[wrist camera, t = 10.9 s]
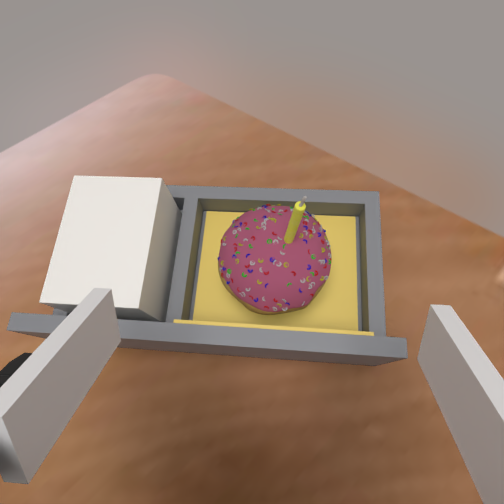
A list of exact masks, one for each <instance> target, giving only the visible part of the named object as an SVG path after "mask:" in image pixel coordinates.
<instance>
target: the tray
mask: <svg viewBox="0 0 504 504" xmlns="http://www.w3.org/2000/svg"><path fill="white" fill-rule="evenodd" d="M166 186H167V188H168V190H169V192H170V194H171V195H172V197H173V199H174V201H175V202H176V204H177V206H178V208H179V210H180V211H181V213H182V218H181V225H180V231H179V238H178V244H177V251H176V257H175V264H174V270H173V277H172V283H171V290H170V296H169V303H168V309H167V316H166V322H152V321H137V320H121V319H117V322H118V327H119V333H120V338H121V342H120V343H119V345H118V346H117V347H120V348H133V349H147V350H161V351H175V352H189V353H203V354H216V355H230V356H244V357H258V358H272V359H286V360H299V361H313V362H327V363H341V364H355V365H368V366H377V365H381V364H385V363H390V362H394V361H398V360H402V359H406V358H408V356H407V341H406V338H398V337H386V325H385V305H384V284H383V264H382V243H381V222H380V202H379V192H376V191H343V190H310V189H277V188H244V187H211V186H178V185H166ZM304 196H307V198H306V200H305V202H304V203H305V205H306V208H305V211H307V212H309V214H310V215H311V214H314V215H315V218H316V219H317V221H319V224H320V225H322V228H323V229H324V230H326V232H325V234H326V236H327V239H328V241H329V245H331V246H330V249H331V257H332V261H331V262H332V263H331V269H330V274H329V276H328V279H327V280H326V282H325V284H324V286H323V287H322V289H321V290H320V292H319V293H318V295H317V296H316V297H315V298H314V299H313V301H312V302H311V303H310V304H309V305H308V306H307V307H306V308H304V309H302V310H298V311H293V312H288V313H283V314H275V315H262V314H258V313H255V312H252V311H250V310H248V309H247V308H246V307H245V306H244V305H243V304H242V303H240V302H239V301H238V300H237V299H236V298H234V297H233V296H232V295H231V294H230V293H229V292H228V291H227V289H226V288H225V287H224V285H223V283H222V281H221V278H220V276H219V272H218V259H217V258H218V257H219V251H220V246H221V239H222V237H223V235H224V233H225V232H226V231H227V229H228V228H229V227H230V226H231V224H232V221H233V220H236V218H237V217H240V216H241V215H242V214H244V213H245V212H248V211H250V210H249V209H251V210H252V209H256V208H258V207H262V206H263V205H266V204H270V205H271V206H272V205H275V206H277V205H278V204H281V206H289V207H294V206H295V204H296V202H298V201H301V200H302V198H303V197H304ZM307 212H306V213H307ZM69 314H70V313H68V312H65V311H62V310H59V309H56V308H54V311H53V315H45V314H29V313H14V312H12V314H11V317H10V320H9V324H8V327H7V330H8V331H13V332H17V333H22V334H27V335H31V336H36V337H41V338H46V339H47V337H48V336H49V335H50V334H51V333H52V332H53V331H54V330H55V329H56V328H57V327H58V326H59V325H60V324H61V323H62V322H63V320H64V319H65V318H66V317H67V316H68V315H69Z"/></svg>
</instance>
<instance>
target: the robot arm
mask: <svg viewBox="0 0 504 504" xmlns="http://www.w3.org/2000/svg"><path fill="white" fill-rule="evenodd" d="M120 342H121V338H120V333H119V327H118V322H117V316H116V311H115V306H114V300H113V295H112V289H107V288H94V289H93V290H92V291H91V292H90V293H89V294H88V295H87V296H86V297H85V298H84V299H83V300H82V301H81V302H80V303H79V304H78V306H77V307H76V308H75V309H74V310H73V311H72V312H71V313H70V314H69V315H68V316H67V317H66V318H65V319H64V320H63V322H62V323H61V324H60V325H59V326H58V327H57V328H56V329H55V330H54V331H53V332H52V333H51V334H50V335H49V336H48V337H47V339H46V340H45V341H44V342H43V343H42V344H41V345H40V346H39V347H38V348H37V349H36V350H35V351H34V352H33V353H23V354H22V355H20V356H19V357H17V358H15V359H14V360H12V361H11V362H9V363H8V364H7V365H6V366H5V367H4V368H3V369H2V370H1V371H0V474H1V476H2V478H3V481H4V482H11V483H22V484H29V483H30V481H31V479H32V478H33V476H34V475H35V473H36V472H37V470H38V469H39V467H40V466H41V464H42V462H43V461H44V459H45V458H46V456H47V455H48V453H49V452H50V450H51V448H52V447H53V445H54V444H55V442H56V441H57V439H58V438H59V436H60V435H61V433H62V431H63V430H64V428H65V427H66V425H67V424H68V422H69V421H70V419H71V417H72V416H73V414H74V413H75V411H76V410H77V408H78V407H79V405H80V404H81V402H82V400H83V399H84V397H85V396H86V394H87V393H88V391H89V390H90V388H91V387H92V385H93V383H94V382H95V380H96V379H97V377H98V376H99V374H100V373H101V371H102V369H103V368H104V366H105V365H106V363H107V362H108V360H109V359H110V357H111V356H112V354H113V352H114V351H115V349H116V348H117V346H118V345H119V343H120ZM417 360H418V362H419V364H420V366H421V368H422V371H423V373H424V375H425V377H426V379H427V381H428V384H429V386H430V388H431V390H432V392H433V395H434V397H435V399H436V401H437V403H438V405H439V408H440V410H441V412H442V414H443V416H444V419H445V421H446V423H447V425H448V427H449V429H450V432H451V434H452V436H453V438H454V440H455V443H456V445H457V447H458V449H459V451H460V453H461V456H462V458H463V460H464V462H465V464H466V467H467V469H468V471H469V473H470V475H471V477H472V480H473V482H474V484H475V486H476V488H477V491H478V493H479V495H480V497H481V499H482V501H483V504H504V380H503V378H502V377H501V375H500V374H499V373H498V371H497V370H496V368H495V367H494V366H493V364H492V363H491V361H490V360H489V359H488V357H487V356H486V354H485V353H484V352H483V350H482V349H481V347H480V346H479V345H478V343H477V342H476V340H475V339H474V338H473V336H472V335H471V334H470V332H469V331H468V329H467V328H466V327H465V325H464V324H463V322H462V321H461V320H460V318H459V317H458V315H457V314H456V313H455V311H454V310H453V308H452V307H451V306H450V305H430V308H429V313H428V317H427V321H426V325H425V329H424V333H423V337H422V341H421V345H420V350H419V354H418V358H417Z"/></svg>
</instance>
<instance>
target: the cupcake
mask: <svg viewBox="0 0 504 504" xmlns="http://www.w3.org/2000/svg"><path fill="white" fill-rule="evenodd" d="M306 198H307V196H304V197H303V198H302V200H301V201H298V202H296V204H295V206H294V207H289V206H281V204H278V205H277V206H275V205H272V206H271V205H270V204H266V205H263V206H262V207H258V208H256V209H252V210H251V209H249V210H250V211H248V212H245V213H244V214H242V215H241V216H240V217H237V218H236V220H233V221H232V224H231V226H230V227H229V228H228V229H227V231H226V232H225V233H224V235H223V237H222V239H221V246H220V251H219V257H218V258H217V259H218V272H219V276H220V278H221V281H222V283H223V285H224V287H225V288H226V289H227V291H228V292H229V293H230V294H231V295H232V296H233V297H234V298H236V299H237V300H238V301H239V302H240V303H242V304H243V305H244V306H245V307H246V308H247V309H248V310H250V311H252V312H255V313H258V314H262V315H275V314H283V313H288V312H293V311H298V310H302V309H304V308H306V307H307V306H308V305H309V304H310V303H311V302H312V301H313V299H314V298H315V297H316V296H317V295H318V293H319V292H320V290H321V289H322V287H323V286H324V284H325V282H326V280H327V279H328V276H329V274H330V269H331V263H332V262H331V261H332V257H331V249H330V246H331V245H329V241H328V239H327V236H326V234H325V232H326V230H324V229H323V228H322V225H320V224H319V221H317V219H316V218H315V215H314V214H311V215H310V214H309V212H307V211H305V208H306V205H305V203H304V202H305V200H306ZM306 212H307V213H306Z"/></svg>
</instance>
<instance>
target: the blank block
mask: <svg viewBox="0 0 504 504" xmlns="http://www.w3.org/2000/svg"><path fill="white" fill-rule="evenodd" d="M181 218H182V213H181V211H180V210H179V208H178V206H177V204H176V202H175V201H174V199H173V197H172V195H171V194H170V192H169V190H168V188H167V186H166V185H165V183H164V181H163V179H162V178H140V177H105V176H74V178H73V182H72V186H71V189H70V193H69V196H68V200H67V204H66V207H65V211H64V215H63V218H62V222H61V225H60V229H59V233H58V236H57V240H56V244H55V247H54V251H53V254H52V258H51V262H50V265H49V269H48V272H47V276H46V280H45V283H44V287H43V291H42V294H41V298H40V301H39V302H40V303H43V304H45V305H48V306H51V307H54V308H56V309H59V310H62V311H65V312H68V313H71V312H72V311H73V310H74V309H75V308H76V307H77V306H78V304H79V303H80V302H81V301H82V300H83V299H84V298H85V297H86V296H87V295H88V294H89V293H90V292H91V291H92V290H93V289H94V288H107V289H112V295H113V300H114V306H115V311H116V316H117V319H121V320H137V321H152V322H166V316H167V309H168V303H169V296H170V290H171V283H172V277H173V270H174V264H175V257H176V251H177V244H178V238H179V231H180V225H181Z"/></svg>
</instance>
